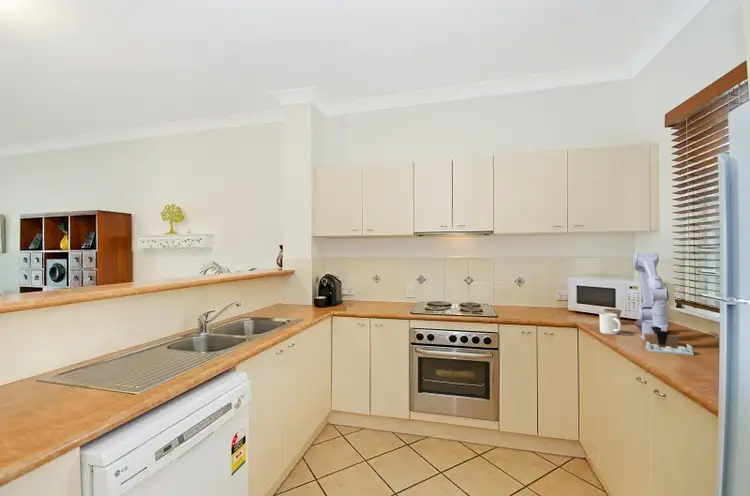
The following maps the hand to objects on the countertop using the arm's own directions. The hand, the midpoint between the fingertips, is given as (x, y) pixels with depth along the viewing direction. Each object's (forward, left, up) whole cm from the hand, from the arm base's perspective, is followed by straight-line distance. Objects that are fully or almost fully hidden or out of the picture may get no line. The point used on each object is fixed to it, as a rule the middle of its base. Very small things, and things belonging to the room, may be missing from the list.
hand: (661, 343), depth 166 cm
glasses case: (0, 0, -1) cm, 1 cm away
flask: (-34, +3, -2) cm, 35 cm away
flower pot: (-52, -13, -2) cm, 54 cm away
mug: (-22, -17, -2) cm, 28 cm away
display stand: (+9, +1, -1) cm, 9 cm away
